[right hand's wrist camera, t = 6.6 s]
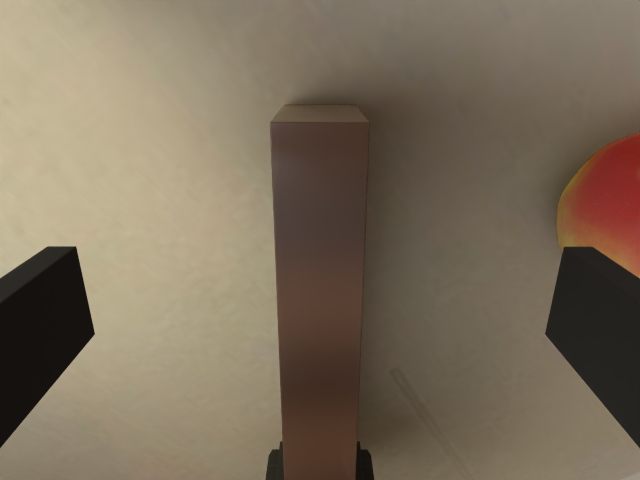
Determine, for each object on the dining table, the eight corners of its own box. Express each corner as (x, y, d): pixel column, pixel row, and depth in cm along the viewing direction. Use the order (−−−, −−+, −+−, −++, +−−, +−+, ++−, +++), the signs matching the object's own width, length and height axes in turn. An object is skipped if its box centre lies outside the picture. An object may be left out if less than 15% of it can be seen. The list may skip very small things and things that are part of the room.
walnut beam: (345, 456, 35) (352, 556, 28) (293, 456, 35) (287, 556, 28) (356, 105, 25) (369, 122, 18) (283, 104, 25) (269, 122, 18)
